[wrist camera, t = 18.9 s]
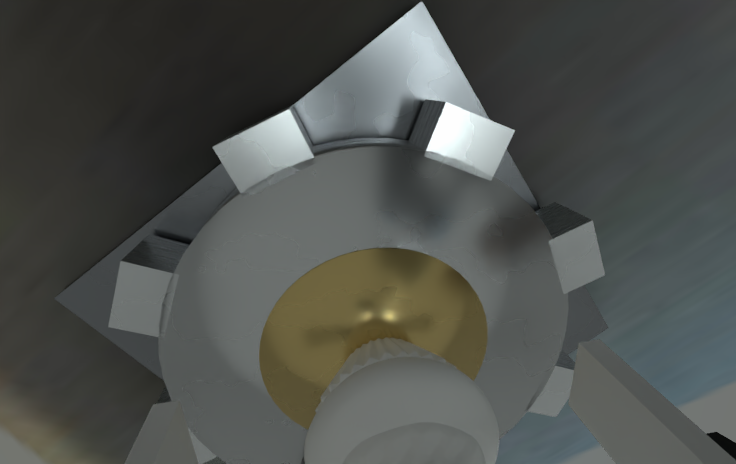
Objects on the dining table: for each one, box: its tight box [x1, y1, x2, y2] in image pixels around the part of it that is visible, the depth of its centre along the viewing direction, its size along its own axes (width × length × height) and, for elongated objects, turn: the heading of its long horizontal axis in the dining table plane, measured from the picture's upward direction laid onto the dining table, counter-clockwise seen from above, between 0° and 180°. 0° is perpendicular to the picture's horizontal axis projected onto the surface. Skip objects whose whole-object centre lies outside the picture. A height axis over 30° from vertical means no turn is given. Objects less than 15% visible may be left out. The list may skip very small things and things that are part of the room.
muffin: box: [304, 337, 499, 464], centre depth 12 cm, size 6×6×7 cm
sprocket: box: [108, 99, 605, 464], centre depth 15 cm, size 19×19×6 cm
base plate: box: [54, 1, 608, 381], centre depth 18 cm, size 18×18×1 cm
